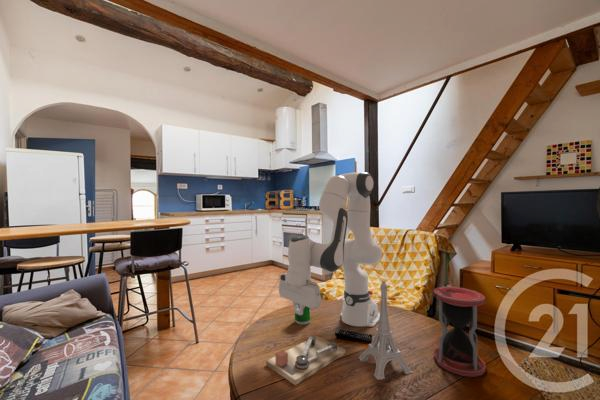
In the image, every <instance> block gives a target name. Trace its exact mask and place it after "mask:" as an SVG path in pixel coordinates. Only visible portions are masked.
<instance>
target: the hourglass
mask: <svg viewBox="0 0 600 400" xmlns="http://www.w3.org/2000/svg"><path fill="white" fill-rule="evenodd" d="M432 291H433V292H432V294H433V296H434V298H436V299H437V300H438V320H439V323H440V324H441V325H442V328H441V331H442V333H441V334H440V336H439V339H438V343H439V344H438V348H436V349H434V350H433V351H434V352H433V359H434V362H435V363H436V364H437V366H439V367H441V368H442V369H444V370H445V371H447V372H450V373H452V374H456V375H459V376H462V377H469V378H470V377H472V378H473V377H480V376H482V375H484V373H486V362H484V360H483V358H481V357H480V356H478V335H477V333H476V332H475V331H476V330H477V327H478V322H477V321H478V306H483V305H484V304H485V303H486V297H485V296H484V295H483V294H482V293H480V292H478V291H476V290H472V289H468V288H464V287H458V286H457V287H456V286H438V287H435V288H433V290H432ZM443 317H444V319H443ZM449 324H451V325H452V326H453V328H452V329H451V330H449V331H448V327H449V326H450V325H449ZM466 326H468V328H469V331H468V333H466V332H465V330H463V329H464V328H465V327H466Z"/></svg>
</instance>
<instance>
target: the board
mask: <svg viewBox="0 0 600 400" xmlns="http://www.w3.org/2000/svg"><path fill="white" fill-rule="evenodd" d="M314 337H316V343H315V345H312V346H311V349H310V351H309V354H307V355H306V356H307V357H308V359H309V358H311V357H313V356H315V355H316V351H318V350H320V349H322V348H325V347H327V346H328V344H329V343H331V342H330V341H328V340H326V339H324V338H321V337H319V336H317V335H315V336H314ZM307 342H308V339H307V340H305V341H303V342H301V343H299V344H297V345H295V346H293V347H290V348H289V349H287V350H284V351H285V352H287V353H288V363H287V364H286V365H284V366H282V367H281V366H279V365H278V364H276V355H275V356H273V357H271V358H269V359H267V360H266V361H265V365H266V367H268V368H269V369H271V370H272V371H274V372H275V373H276V374H278V375H279V376H281V377H282V378H284V379H285V380H287V381H288V382H289V383H291V384H293V385H294V386H296V385H298V384H300V383H301V382H303V381H304V380H306V379H308V378H309V377H311V376H313V375H314V374H316V373H317V372H319V371H320V370H322V369H324V368H325V367H326V366H328V365H330V364H331V363H333V362H335V361H336V360H338V359H339V358H341V357H342V356H344V355H345V354H346V349H344V348H343V347H342V346H339V345H337V351H335V352H333V353H331V354H329V355H326V356H324V357H322V358H320V359H317V360H315V361H313V362H311V363H309V368H307V369H305V370H299V369H297V368H296V367H295V362H296V358H297V356H300V355H302V354H303V352H304V350H305V346H306V344H307Z"/></svg>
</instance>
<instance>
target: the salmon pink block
mask: <svg viewBox="0 0 600 400" xmlns="http://www.w3.org/2000/svg"><path fill="white" fill-rule="evenodd" d="M285 351H286V350H284V349H280V350H279V351H277V352H275V356H276V364H278V365H279V366H281V367H282V366H284V365H286V364H287V363H288V353H287V352H285Z"/></svg>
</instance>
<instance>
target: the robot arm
mask: <svg viewBox="0 0 600 400" xmlns="http://www.w3.org/2000/svg"><path fill="white" fill-rule="evenodd" d="M374 181H375V180H374V177H373V176H372V175H371V174H370V173H369V172H367V171H366V172H364V171H361V172H354V171H353V172H348V173H343V174H336V175H333V176H332V177H330V178H329V179H328V180H327V183H326V184H325V186H324V189H323V191H322V194H321V196H320V199H319V203H318V209H319V210H320V212H321V214H322V215H323V216H325V218H327V219H329V220H330V221H332V223H333V226H332V232H331V237H330V239H331V240H330V242H329V243H321V242H317V241H313V240H312V239H311V238H310V237H309V236H308V235H304V234H303V235H295V236H293V237H292V238H291V239H290V240H289V241H288V242H289V243H288V248H287V249H288V252H287V261H288V268H287V272H285V273H281V274H279V277H278V279H279V283H278V294H279V296H280V298H283V299H285V300H287V301H288V300H289V301H291V302H292V306H293V308H294V314H295V313H296V314H298V315H303V310H304V308H305V306H306V307H309V308H310V309H312V310H316V309H319V308H321V306H322V298H321V296H322V295H321V289H320V286H319V285H318V283H317V282H316V281H311V278H312V276H311V275H312V274H311V273H312V272H311V267H314V268H318V269H319V268H320V269H323V270H325V271H328V272H330V273H331V272H332V273H333V272H336V271H337V270H339V269H340V268H341V269H342V271H343V272H342V273H343V276H344V290H343V298H344V299H342V307H341V308H342V309H341V312H340V317H341V321H342V323H344V324H346V325H349V326H351V327H371V328H373V327H375V326H376V325H377V323H379V316H380V311H379V306H378V304H377V303H376V302H375V301H374V300H373V299H372V298H371V296H373V294H374V291H373V290H370V289H369V277H368V273H366V271H364V270H363V268H362V267H361V265H366V266H368V265H371V266H372V265H378V263H380V261H381V260H382V256H383V251H382V248H381V246H380V245H379V244H378V242H376V241H375V239H374V236H373V234H372V232H371V198H370V195H371V193H372V192H373V189H374V185H375V182H374ZM348 197H349V198H348ZM347 200H348V203H346V202H347ZM346 204H348V205H347V210H346V209H345V207H346ZM347 230H349V231H350V232H351V233H352V234H353V236H354V237H353V238H354V239H353V238H352V239H351V238H346V235H347ZM298 304H299V306H300V308H299V306H298Z"/></svg>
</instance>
